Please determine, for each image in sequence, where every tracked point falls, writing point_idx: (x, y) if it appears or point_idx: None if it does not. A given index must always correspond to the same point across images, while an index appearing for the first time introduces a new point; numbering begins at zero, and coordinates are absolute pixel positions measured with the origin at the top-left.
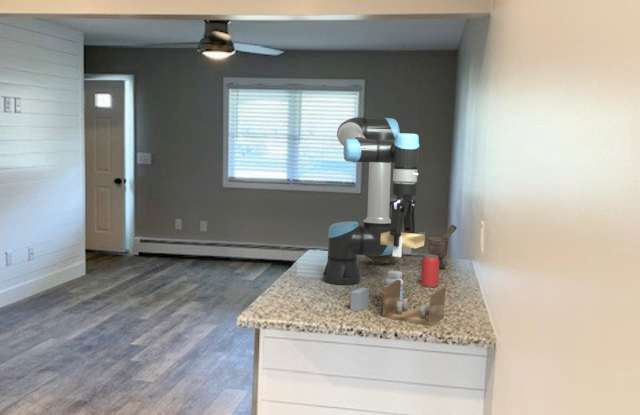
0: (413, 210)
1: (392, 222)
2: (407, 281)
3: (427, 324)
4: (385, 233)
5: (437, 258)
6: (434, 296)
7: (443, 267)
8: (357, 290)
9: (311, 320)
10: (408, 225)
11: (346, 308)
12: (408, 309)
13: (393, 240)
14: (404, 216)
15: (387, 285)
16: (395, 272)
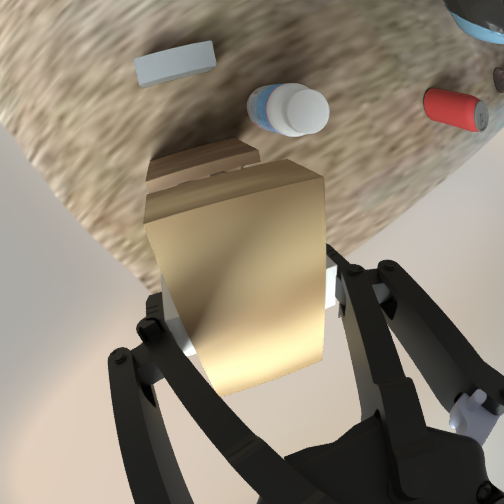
0: (435, 393)
1: (121, 426)
2: (432, 57)
3: None
4: (176, 246)
5: (477, 130)
6: None
7: (499, 91)
8: (163, 59)
9: (11, 93)
10: (348, 331)
11: (141, 53)
12: None
13: (164, 301)
14: (367, 375)
15: (163, 181)
16: (308, 114)
